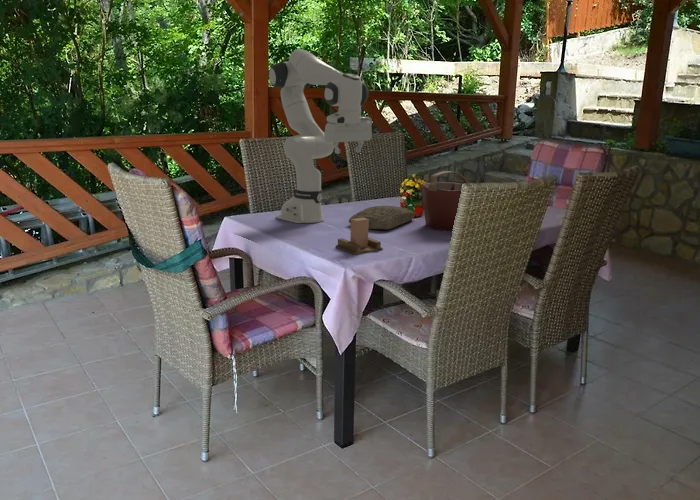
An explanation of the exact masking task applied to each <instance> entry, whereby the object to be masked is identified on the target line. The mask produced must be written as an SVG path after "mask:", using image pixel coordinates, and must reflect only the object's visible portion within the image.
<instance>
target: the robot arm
mask: <svg viewBox="0 0 700 500" xmlns="http://www.w3.org/2000/svg"><path fill="white" fill-rule="evenodd" d="M268 70H269V71H268V77H269V81H270V84H271V85H272V86H273V87H274V88H277V89H278V88H279V89H280V100H281V105H282V109H283V111H284V114H285V117H286V120H287V123H288V125H289V127H290V128H291V130H292V131H295V132H296V133H298V134H297V135H293V136H290V137H288V138H287V139H286V140H285V141H284V144H283V151H284V155H285V156H286V157H287V158H288V159H289V160H290V161H291V162H292V164H293V166H294V168H295V175H296V188H295V189H294V190H292V191H291V194H293V197H290V199H288V200H287V201H286V202H284V203H283V205H282V206H281V211H280V213H278V214H277V215H276V216H275V217H276V219H279V220H282V221H286V222H291V223H295V224H304V223H305V224H310V223H311V224H312V223H314V224H315V223H320V222H323V221H324V220H325V219H324V215H323V207H322V200H323V189H322V173H321V171H320V170H319V169H318V168H316V167H315V165H314V164H315V163H314V160H315V159H323V158H326V157H328V156H330V155H331V154H333V152H334V154H338V155H339V154H341V148H339V143H347V142H349V143H351V142H352V143H353V142H357V144H358V145H357V146H355V147H354V148H355V151H354V152H356V153H361V149H362V147H363V145H364V143H365V142H367V141H370V140H372V138H373V132H372V131H373V130H372V129H373V128H372V123H373V122H372V119H371V117H369V116H362V106H363V105H364V104H365V103H366V102H367V100H368V99H369V95H370V94H369V93H370V91H369V88H368V86H367V85H366V83H365V82H364V81H362V79H361V77H360V75H358V74H355V73H344V72H342V71H341V70H338V69H337V68H335V67H333V66H332V65H329V64H328V63H326V62H324V61H323V60H322V59H320V58H318V57H317V56H316V55H314V54H313V53H312V52H310V51H308V50H305V49H302V48H297V49H295V50H293V51H292V52H291V53H290V55H289V57H288V61H280V62H276V63H274V64H273V65H271V66H270V67H269V69H268ZM313 85H315V86H316V85H317V86H324V88H323V89H324V90H323V99H324V101H325V103H327V105H329V106H332V107H338V110H337V111H336V112H334V113H332V114H330V115H327V116H326V121H327V123H326V124H325V127H324V131H323V130H322V129H321V128H320V126H319V125H318V124H317V122H316V121H315V119H314V117H313V114H312V112H311V110H310V107H309V104H308V101H307V98H306V97H305V96H306V95H305V93H304V88H307V89H309V88H310V87H311V86H313Z"/></svg>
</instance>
